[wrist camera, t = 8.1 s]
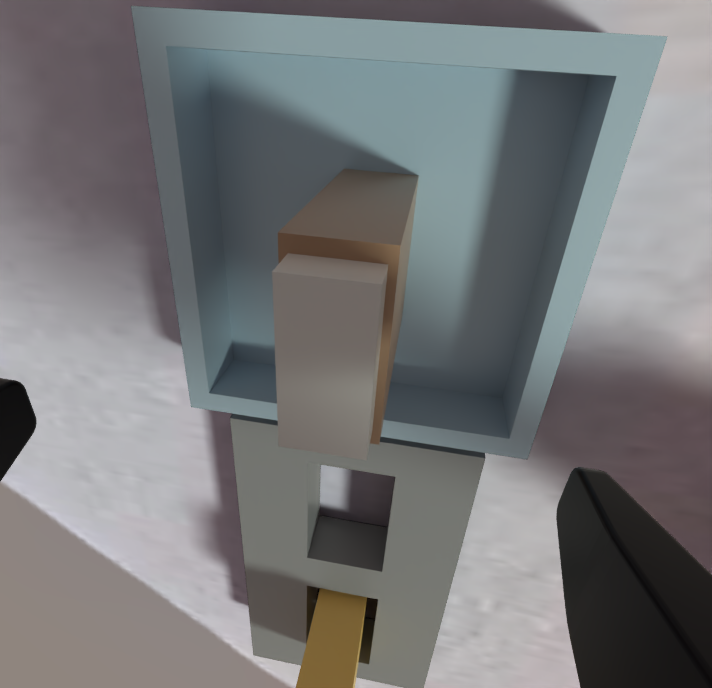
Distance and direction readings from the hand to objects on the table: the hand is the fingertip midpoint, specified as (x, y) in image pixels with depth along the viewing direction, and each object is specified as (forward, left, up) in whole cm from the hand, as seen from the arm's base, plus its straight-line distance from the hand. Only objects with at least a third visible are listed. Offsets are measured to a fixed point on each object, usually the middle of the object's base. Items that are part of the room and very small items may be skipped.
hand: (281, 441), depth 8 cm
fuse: (0, +20, -11) cm, 23 cm away
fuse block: (0, +16, -11) cm, 19 cm away
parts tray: (0, 0, -11) cm, 11 cm away
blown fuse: (0, 0, -10) cm, 10 cm away
